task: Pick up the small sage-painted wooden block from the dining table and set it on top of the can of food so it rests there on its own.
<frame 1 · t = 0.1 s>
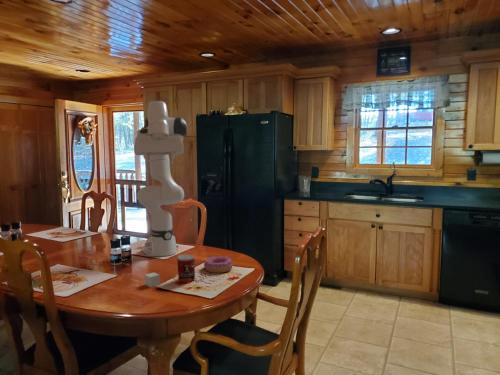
hand: (159, 163, 155), 54 cm above the table, tool tilted 30°, fingers open, 8 cm apart
sage block: (152, 284, 167), on the table
donut: (218, 269, 187), on the table
canned food: (186, 280, 172), on the table
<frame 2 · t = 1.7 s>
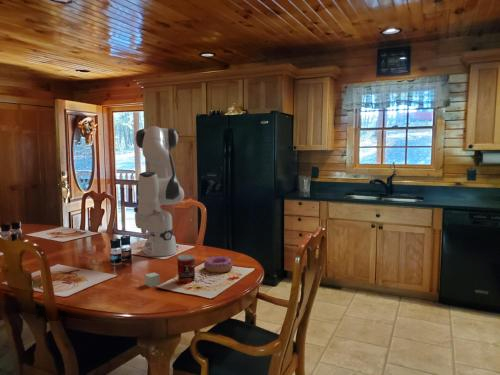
hand: (150, 240, 164), 20 cm above the table, tool pointing down, fingers open, 8 cm apart
nothing on the table moved.
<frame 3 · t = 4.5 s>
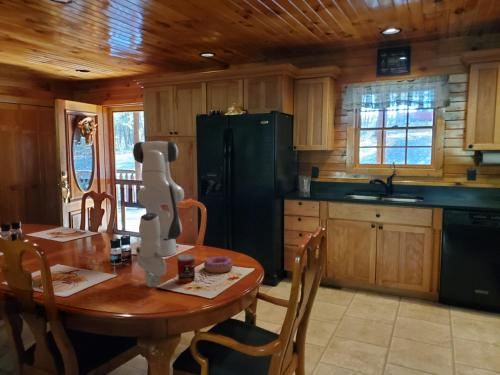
hand: (152, 280, 167), 2 cm above the table, tool pointing down, fingers closed on sage block, 5 cm apart
sage block: (152, 284, 167), on the table, touching gripper
everything else where it was.
when the fingers open (14 cm above the table, at t = 9.2 s): sage block drops 2 cm, resting on canned food.
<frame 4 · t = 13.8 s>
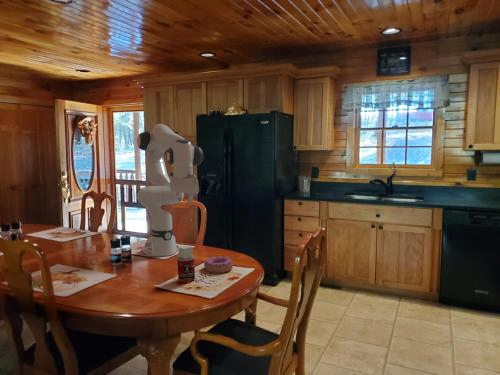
hand: (184, 201, 182), 34 cm above the table, tool pointing down, fingers open, 8 cm apart
sage block: (185, 256, 171), point 11 cm above the table, touching canned food
canned food: (186, 280, 172), on the table, touching sage block
everything else where it was.
at the end: sage block 0.1 cm off-centre on the canned food, point 11.2 cm above the canned food's base; sage block touching canned food; the gripper is holding nothing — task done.
